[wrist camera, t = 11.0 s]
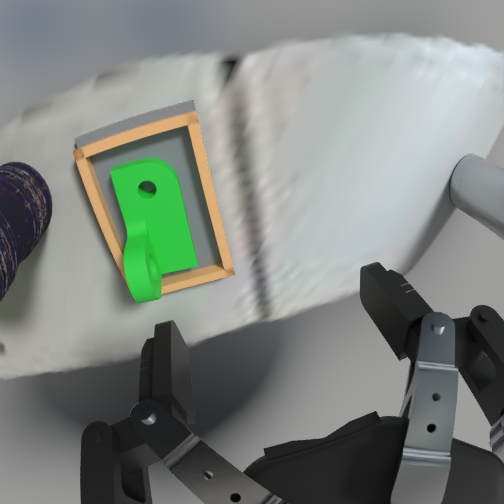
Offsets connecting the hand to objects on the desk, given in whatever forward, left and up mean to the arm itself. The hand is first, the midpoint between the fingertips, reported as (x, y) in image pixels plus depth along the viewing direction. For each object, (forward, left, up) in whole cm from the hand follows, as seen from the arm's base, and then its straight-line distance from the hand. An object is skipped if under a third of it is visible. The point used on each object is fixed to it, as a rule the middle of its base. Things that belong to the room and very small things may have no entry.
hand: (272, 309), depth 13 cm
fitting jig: (+7, +3, -22) cm, 23 cm away
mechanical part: (+7, +3, -21) cm, 22 cm away
